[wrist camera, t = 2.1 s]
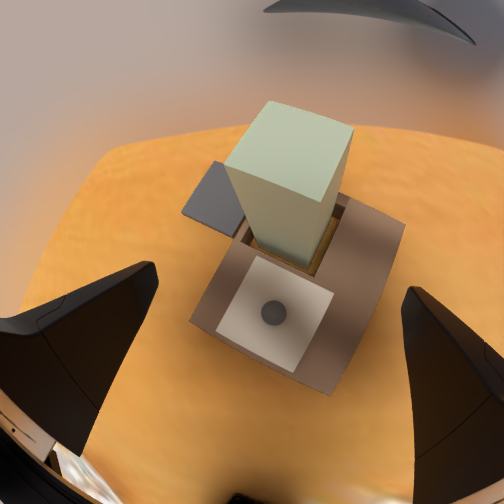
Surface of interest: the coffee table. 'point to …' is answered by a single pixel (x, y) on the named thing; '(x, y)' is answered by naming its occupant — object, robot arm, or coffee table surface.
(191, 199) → the charcoal mat
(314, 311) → the brown sliding lid box
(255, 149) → the sage block
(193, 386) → the coffee table surface
